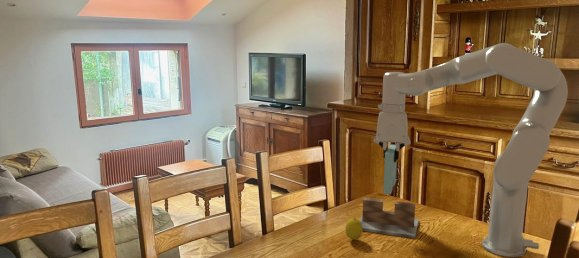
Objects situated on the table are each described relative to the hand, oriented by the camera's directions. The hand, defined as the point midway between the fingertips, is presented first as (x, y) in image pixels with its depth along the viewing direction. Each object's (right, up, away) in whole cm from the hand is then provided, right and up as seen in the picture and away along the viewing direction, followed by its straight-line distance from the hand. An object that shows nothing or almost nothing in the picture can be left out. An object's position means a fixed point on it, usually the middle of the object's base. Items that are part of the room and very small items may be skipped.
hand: (390, 160), depth 150 cm
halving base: (0, -24, +5) cm, 24 cm away
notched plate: (0, -10, +2) cm, 10 cm away
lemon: (-14, -26, -7) cm, 31 cm away
